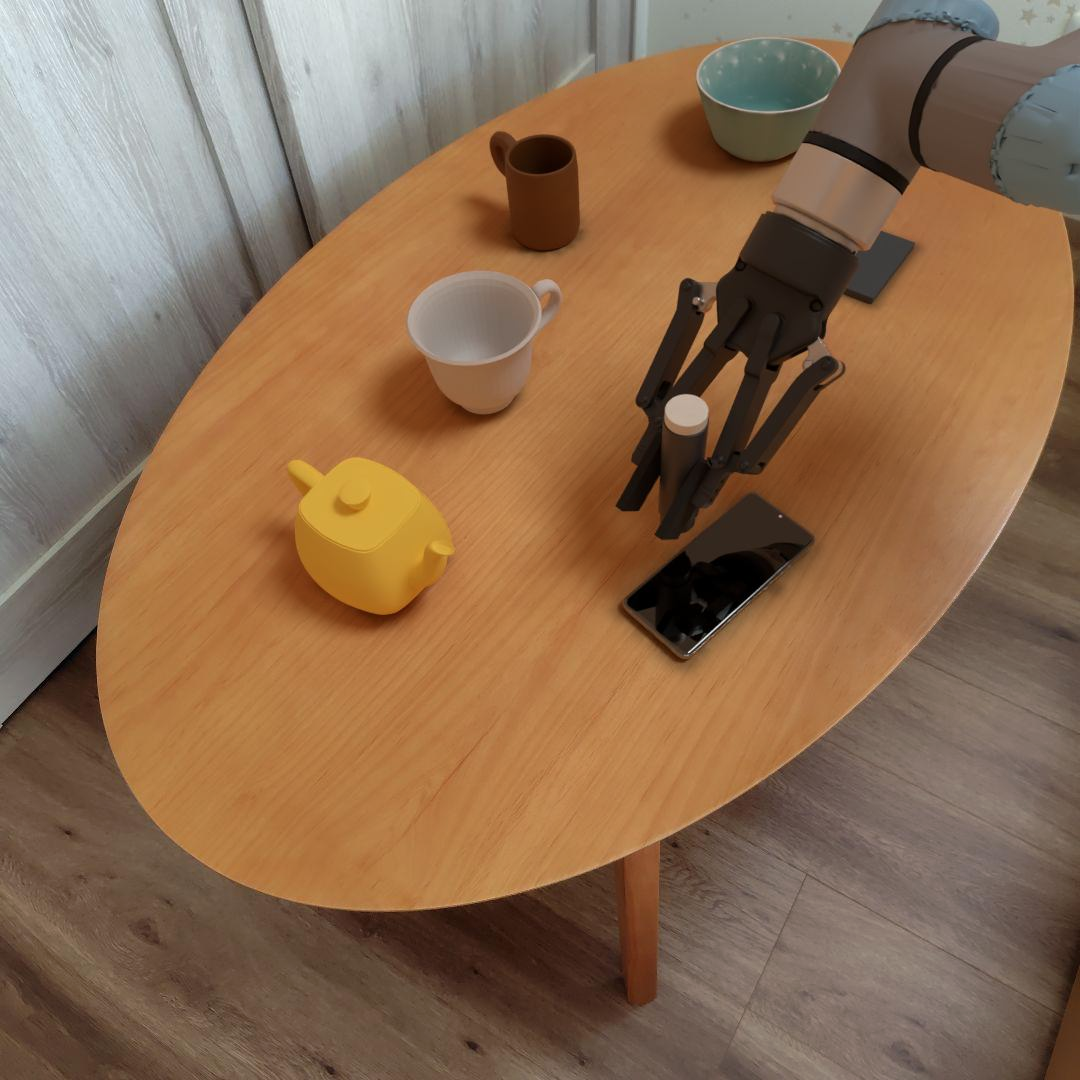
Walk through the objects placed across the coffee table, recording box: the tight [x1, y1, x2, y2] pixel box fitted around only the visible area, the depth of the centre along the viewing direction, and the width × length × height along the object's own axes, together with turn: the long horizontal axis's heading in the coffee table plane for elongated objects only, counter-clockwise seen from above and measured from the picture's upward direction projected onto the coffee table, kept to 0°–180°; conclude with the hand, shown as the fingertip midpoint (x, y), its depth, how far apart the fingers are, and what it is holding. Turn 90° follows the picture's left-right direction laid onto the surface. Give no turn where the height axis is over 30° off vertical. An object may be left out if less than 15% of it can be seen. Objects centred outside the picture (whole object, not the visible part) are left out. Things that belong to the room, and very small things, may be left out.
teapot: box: [286, 456, 456, 616], centre depth 76 cm, size 18×11×11 cm, turn 53°
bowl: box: [695, 36, 842, 163], centre depth 108 cm, size 16×16×8 cm
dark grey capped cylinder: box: [657, 394, 710, 535], centre depth 70 cm, size 3×3×13 cm
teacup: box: [405, 270, 563, 415], centre depth 87 cm, size 12×15×10 cm
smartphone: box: [622, 491, 816, 660], centre depth 77 cm, size 7×1×16 cm
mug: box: [489, 130, 581, 251], centre depth 101 cm, size 12×8×9 cm, turn 41°
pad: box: [843, 230, 916, 305], centre depth 98 cm, size 10×10×1 cm
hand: (646, 522), depth 71 cm, fingers closed on dark grey capped cylinder, 3 cm apart
